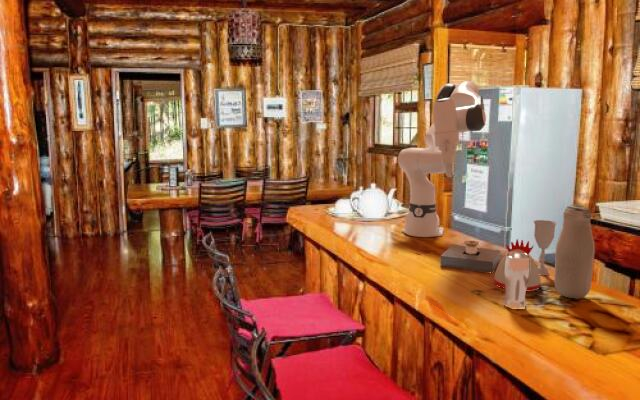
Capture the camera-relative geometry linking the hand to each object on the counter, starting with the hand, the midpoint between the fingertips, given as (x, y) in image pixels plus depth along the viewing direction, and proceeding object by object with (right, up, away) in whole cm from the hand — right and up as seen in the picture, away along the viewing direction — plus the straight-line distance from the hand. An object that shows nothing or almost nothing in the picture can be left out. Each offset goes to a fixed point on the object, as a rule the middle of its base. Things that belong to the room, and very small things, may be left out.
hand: (449, 177), depth 201 cm
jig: (+6, -32, -6) cm, 33 cm away
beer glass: (+6, -39, -50) cm, 63 cm away
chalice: (+27, -34, -18) cm, 47 cm away
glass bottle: (+26, -38, -42) cm, 62 cm away
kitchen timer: (+14, -36, -30) cm, 49 cm away
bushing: (+6, -32, -6) cm, 33 cm away
